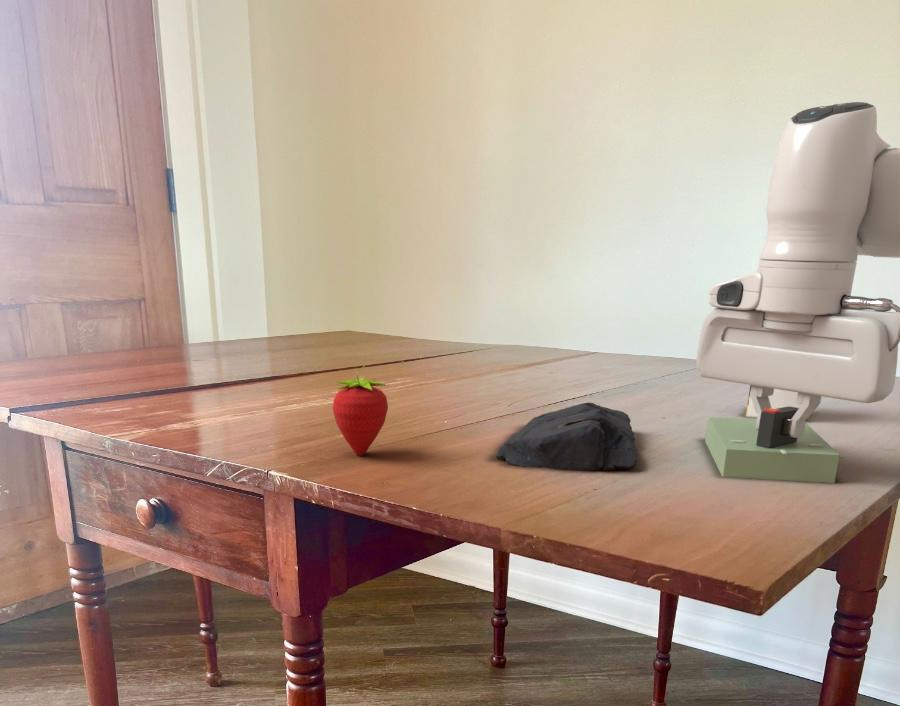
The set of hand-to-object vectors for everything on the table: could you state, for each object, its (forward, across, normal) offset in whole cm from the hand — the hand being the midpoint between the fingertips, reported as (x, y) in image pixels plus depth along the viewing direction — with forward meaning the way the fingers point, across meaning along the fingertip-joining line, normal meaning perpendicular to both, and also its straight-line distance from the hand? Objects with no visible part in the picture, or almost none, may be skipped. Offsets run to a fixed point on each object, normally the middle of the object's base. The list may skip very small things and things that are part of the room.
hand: (778, 433), depth 90 cm
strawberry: (+4, +31, +31) cm, 44 cm away
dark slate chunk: (+4, +20, +9) cm, 22 cm away
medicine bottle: (+4, +17, -28) cm, 33 cm away
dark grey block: (+1, 0, 0) cm, 1 cm away
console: (+4, +3, -4) cm, 6 cm away
